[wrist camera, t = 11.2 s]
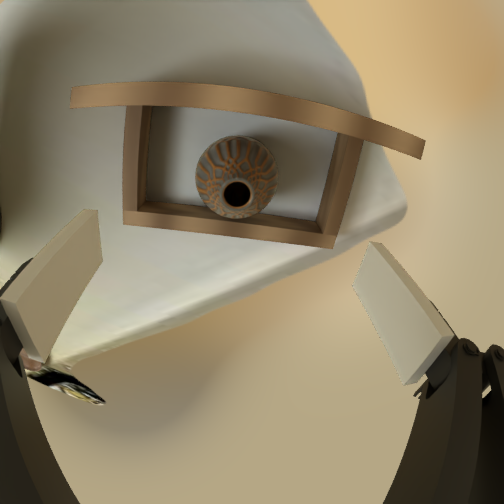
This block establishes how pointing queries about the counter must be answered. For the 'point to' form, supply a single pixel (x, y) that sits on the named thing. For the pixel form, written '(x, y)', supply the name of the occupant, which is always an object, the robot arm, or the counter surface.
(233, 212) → the vase
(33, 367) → the saucer
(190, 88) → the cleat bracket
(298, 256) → the counter surface
